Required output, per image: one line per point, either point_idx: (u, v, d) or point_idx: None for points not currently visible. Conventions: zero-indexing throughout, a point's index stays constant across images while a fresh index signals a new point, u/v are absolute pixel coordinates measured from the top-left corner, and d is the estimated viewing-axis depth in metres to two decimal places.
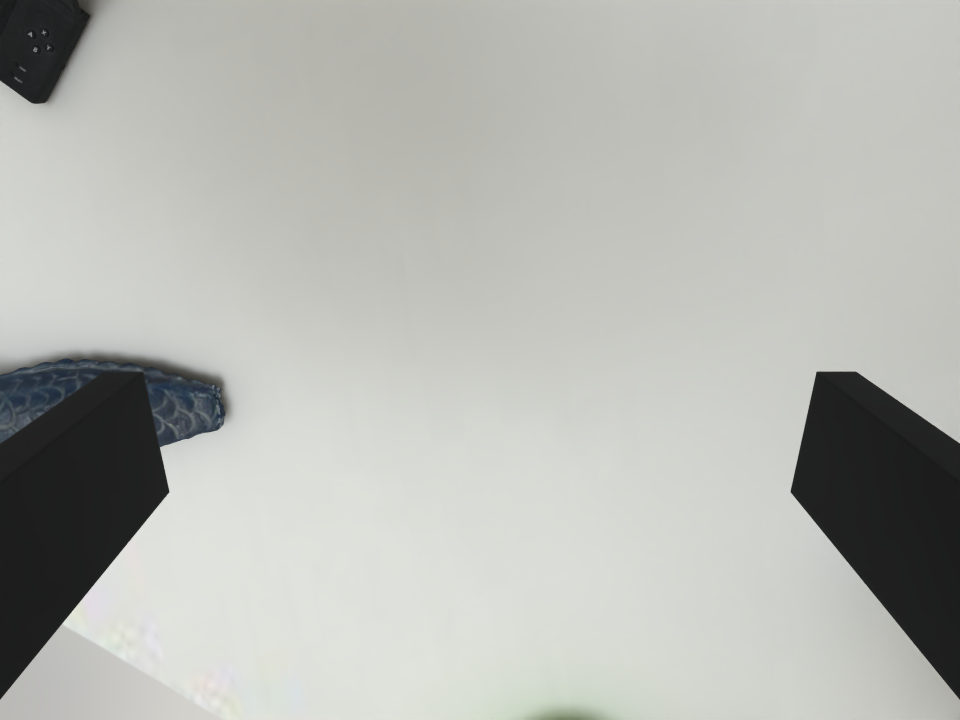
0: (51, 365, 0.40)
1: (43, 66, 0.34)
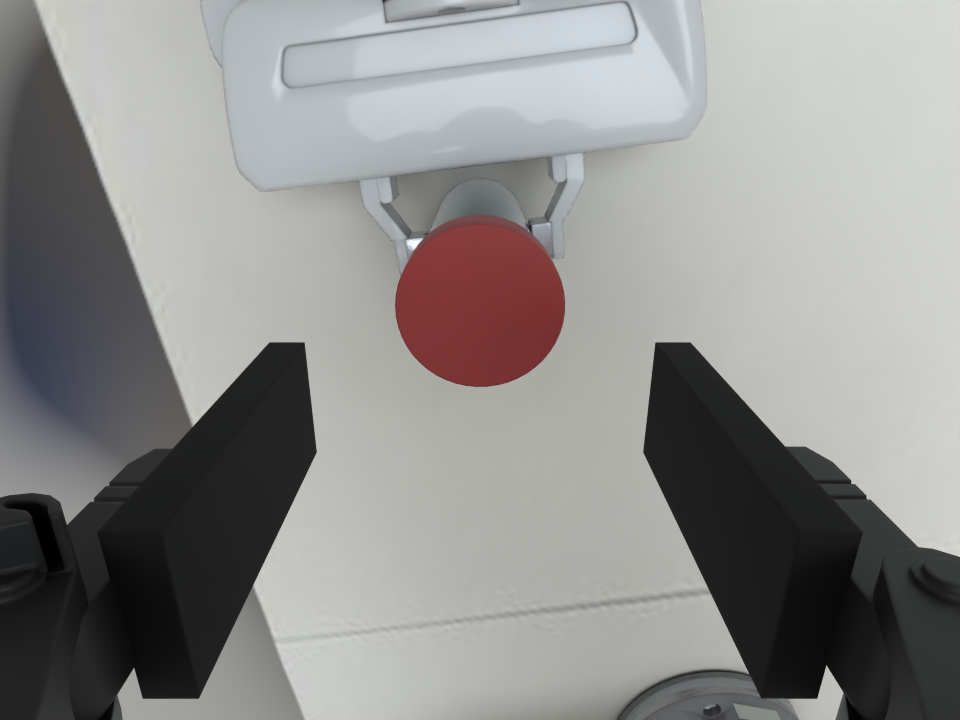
0: None
1: None
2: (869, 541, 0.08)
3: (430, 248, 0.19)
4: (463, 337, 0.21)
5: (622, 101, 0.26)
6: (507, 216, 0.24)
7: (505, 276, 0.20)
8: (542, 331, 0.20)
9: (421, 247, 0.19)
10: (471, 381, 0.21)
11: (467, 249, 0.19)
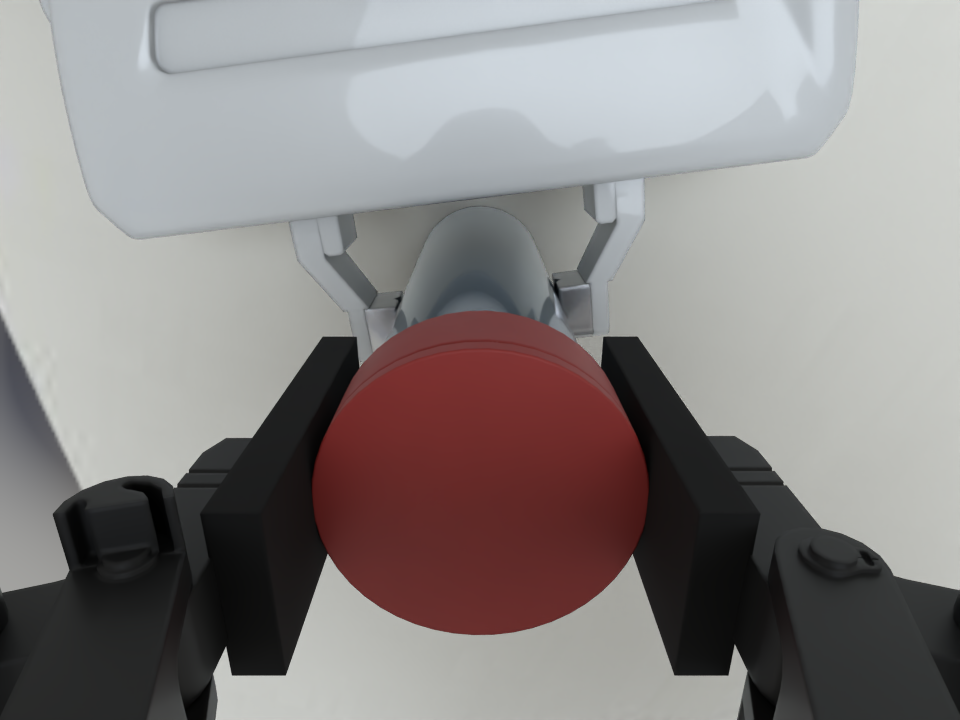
0: None
1: None
2: (777, 524, 0.09)
3: (377, 395, 0.09)
4: (448, 554, 0.10)
5: (715, 96, 0.16)
6: (527, 293, 0.14)
7: (531, 446, 0.10)
8: (602, 544, 0.10)
9: (359, 393, 0.09)
10: (463, 627, 0.11)
11: (454, 397, 0.09)
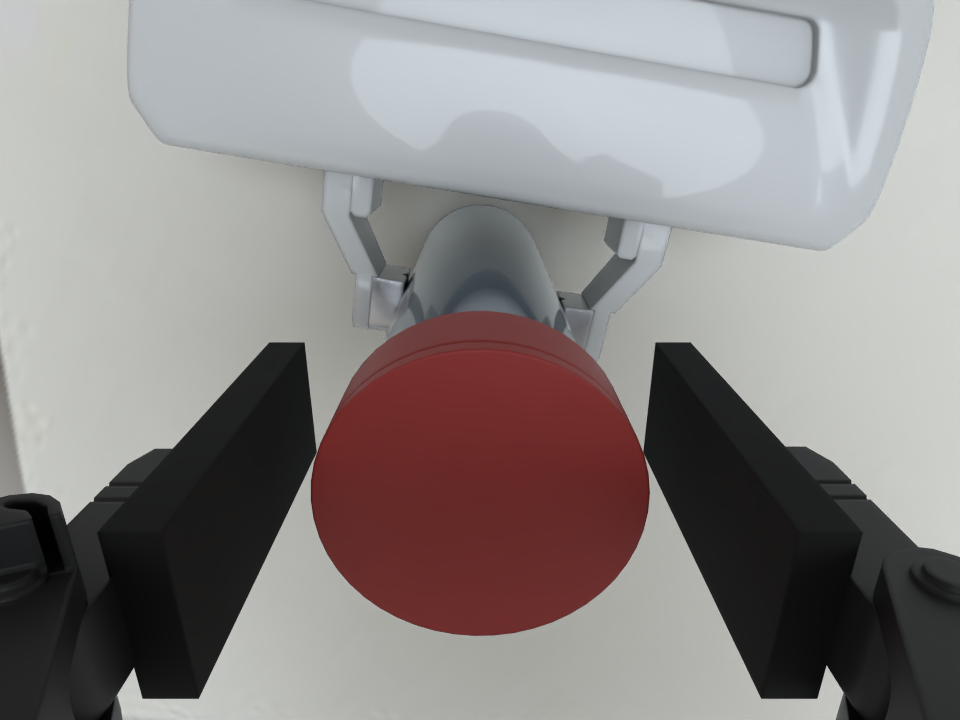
0: None
1: None
2: (869, 541, 0.08)
3: (352, 571, 0.11)
4: (532, 540, 0.10)
5: (758, 171, 0.16)
6: (550, 305, 0.14)
7: (416, 457, 0.10)
8: (546, 399, 0.09)
9: (350, 582, 0.11)
10: (629, 539, 0.10)
11: (357, 514, 0.10)
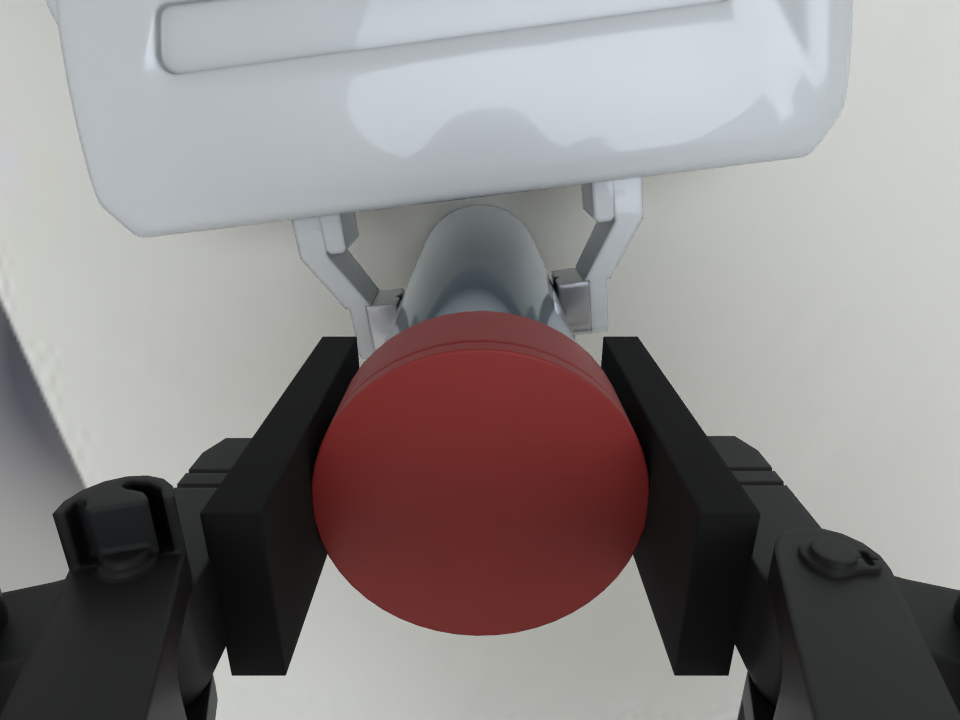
0: None
1: None
2: (777, 523, 0.09)
3: (379, 596, 0.11)
4: (542, 527, 0.10)
5: (711, 96, 0.16)
6: (526, 289, 0.14)
7: (403, 474, 0.10)
8: (509, 387, 0.09)
9: (382, 607, 0.11)
10: (637, 503, 0.10)
11: (367, 541, 0.10)
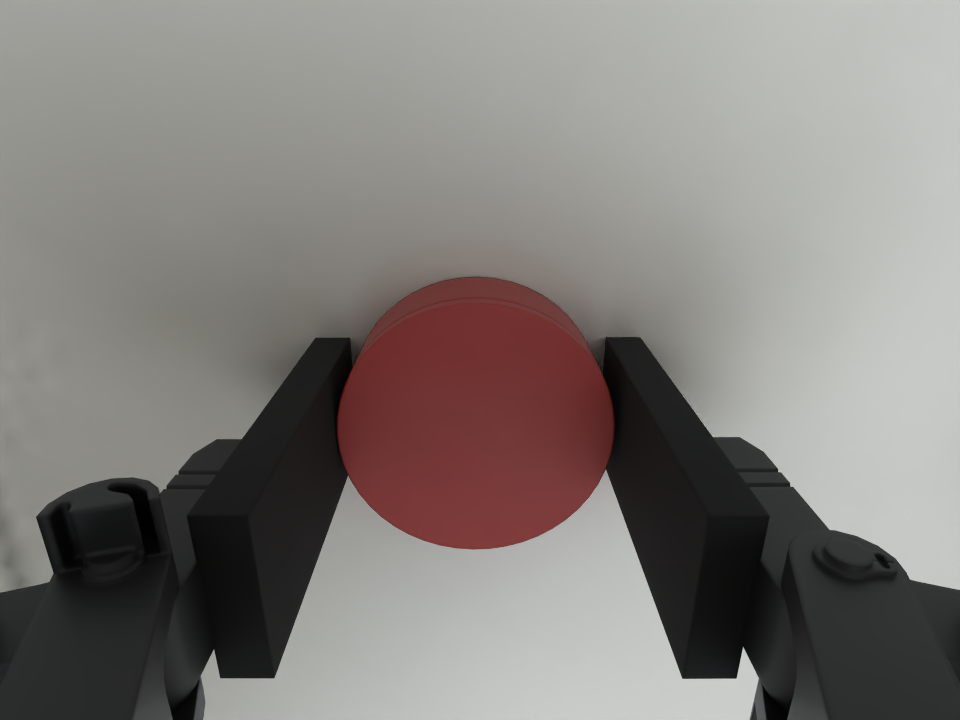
0: None
1: None
2: (785, 525, 0.09)
3: (392, 515, 0.13)
4: (526, 453, 0.12)
5: None
6: None
7: (413, 409, 0.12)
8: (499, 335, 0.12)
9: (394, 524, 0.13)
10: (604, 433, 0.12)
11: (382, 467, 0.13)
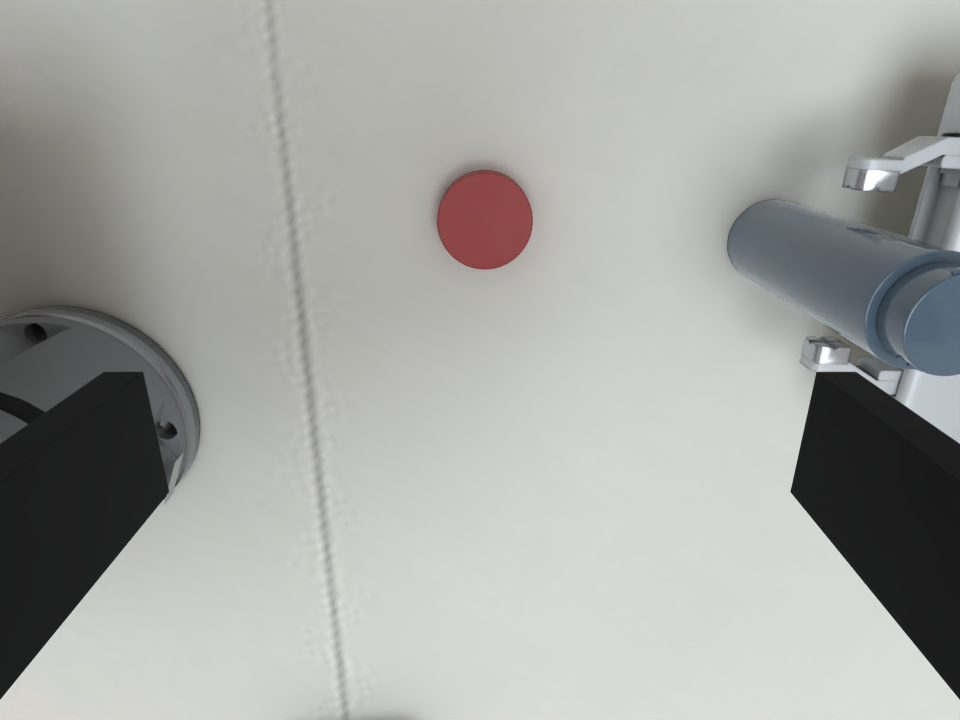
0: None
1: None
2: None
3: (455, 254, 0.37)
4: (502, 229, 0.36)
5: (937, 401, 0.33)
6: None
7: (463, 211, 0.36)
8: (492, 184, 0.35)
9: (455, 258, 0.37)
10: (529, 221, 0.36)
11: (452, 234, 0.36)
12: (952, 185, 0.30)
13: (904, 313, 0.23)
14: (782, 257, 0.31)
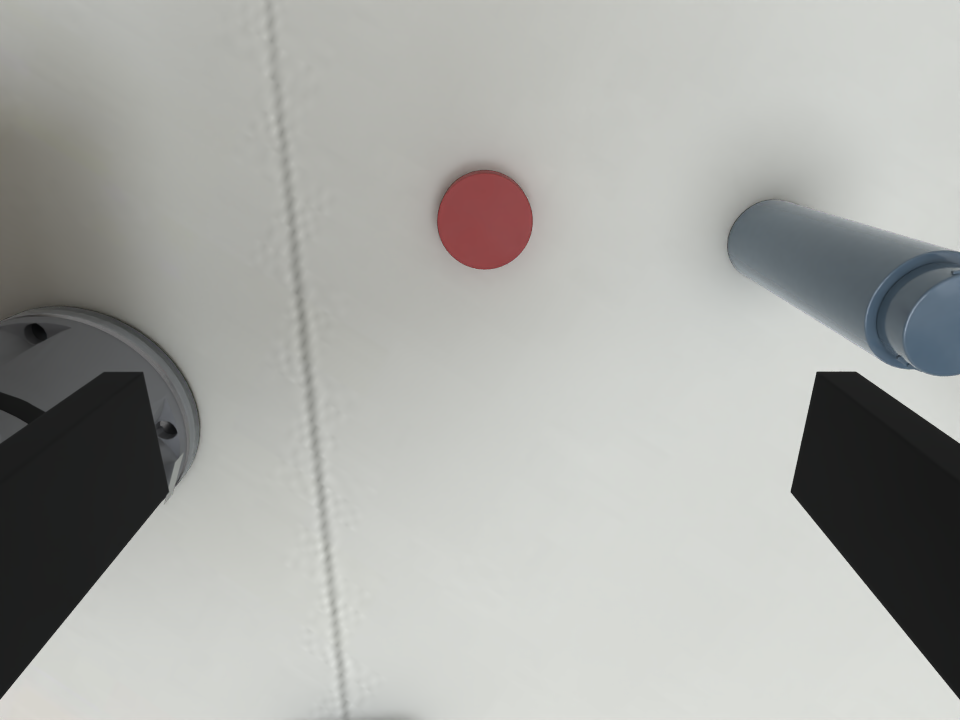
0: None
1: None
2: None
3: (455, 254, 0.37)
4: (502, 229, 0.36)
5: None
6: None
7: (463, 211, 0.36)
8: (492, 184, 0.35)
9: (455, 258, 0.37)
10: (529, 221, 0.36)
11: (452, 234, 0.36)
12: None
13: (905, 313, 0.23)
14: (782, 257, 0.31)
